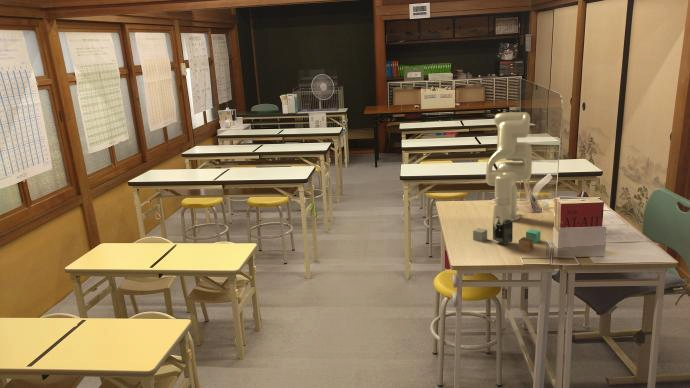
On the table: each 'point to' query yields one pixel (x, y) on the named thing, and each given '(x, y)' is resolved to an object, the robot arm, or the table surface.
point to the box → (505, 232)
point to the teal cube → (533, 235)
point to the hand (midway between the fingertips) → (502, 235)
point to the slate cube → (480, 234)
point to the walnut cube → (526, 244)
